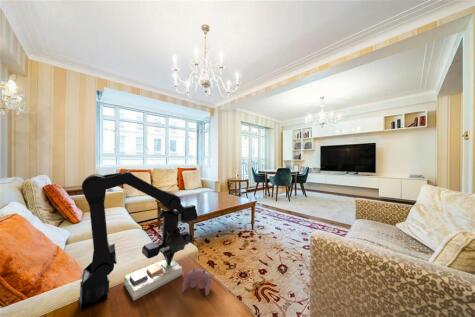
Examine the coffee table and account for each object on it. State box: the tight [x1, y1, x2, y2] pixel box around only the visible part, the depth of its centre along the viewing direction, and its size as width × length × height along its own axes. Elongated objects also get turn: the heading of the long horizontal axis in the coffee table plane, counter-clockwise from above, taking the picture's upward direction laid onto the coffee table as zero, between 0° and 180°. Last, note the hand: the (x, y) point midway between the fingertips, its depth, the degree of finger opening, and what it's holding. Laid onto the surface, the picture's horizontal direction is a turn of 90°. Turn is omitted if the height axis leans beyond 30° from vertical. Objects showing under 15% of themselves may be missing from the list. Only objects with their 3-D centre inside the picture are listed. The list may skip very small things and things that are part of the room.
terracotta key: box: [146, 264, 163, 277], centre depth 64 cm, size 4×4×2 cm
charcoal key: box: [130, 270, 148, 286], centre depth 60 cm, size 4×4×2 cm
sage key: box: [161, 261, 176, 270], centre depth 68 cm, size 4×4×2 cm
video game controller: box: [181, 268, 213, 296], centre depth 61 cm, size 10×5×7 cm, turn 85°
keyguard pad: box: [123, 258, 183, 301], centre depth 64 cm, size 17×10×3 cm, turn 139°
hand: (168, 264), depth 68 cm, fingers closed, pressing on sage key
